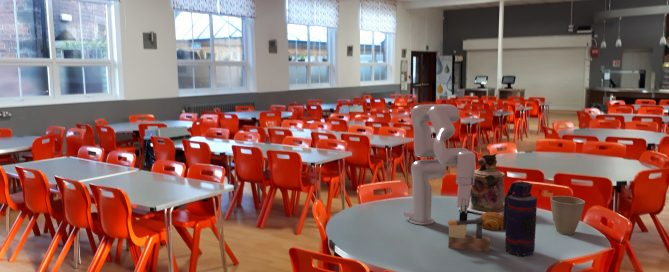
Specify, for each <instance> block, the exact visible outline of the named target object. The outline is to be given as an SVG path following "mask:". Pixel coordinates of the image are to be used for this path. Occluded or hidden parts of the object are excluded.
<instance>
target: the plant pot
mask: <svg viewBox="0 0 669 272" xmlns="http://www.w3.org/2000/svg"><path fill="white" fill-rule="evenodd" d="M585 204H586V201H585V200H583V199H581V198H579V197H573V196H568V195H555V196H551V197H550V207H551V214H552V219H553V223H554V227H555V229H556V232H557V233H558V234H560V235H561V234H562V235H568V236H569V235H573V234H574V233H575V231H576V230H577V228H578V226H579V223H580V222H581V221H580V220H581V217H582V215H583V211H584V207H585Z"/></svg>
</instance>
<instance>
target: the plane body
mask: <svg viewBox="0 0 669 272" xmlns="http://www.w3.org/2000/svg"><path fill="white" fill-rule="evenodd" d="M475 225H476V226H475V227H476V229H475V235H473V234H472V235H471V234H466V237H465V238H455V237H449V236H448V248H449V249H458V250H466V251H467V250H468V251H477V252H478V251H479V252H486V253H489V252H490V245H491V244H490V242H491V241H490V239H491V237H490V236H483V228H482V224H475Z"/></svg>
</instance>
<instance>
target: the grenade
mask: <svg viewBox="0 0 669 272" xmlns="http://www.w3.org/2000/svg"><path fill="white" fill-rule="evenodd" d="M532 187H533V184H531V183H530V182H528V181H523V180H520V181H514V182H511V183H510V185H509V187H508V190H507V192H506V194H505V198H504V214H503V229H504V230H505V233H504V234H505V235H504V236H505V237H504V250H505V251H506V253H512V254H516V255H517V257H523V258H524V257H525V255H530V254H531V255H532V254H534V252H535V246H536V229H537V228H536V225H537V209H538V208H537V206H538V197H536V196H534V195H533V194H532V193H531V191H532Z"/></svg>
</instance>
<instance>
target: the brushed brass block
mask: <svg viewBox="0 0 669 272" xmlns="http://www.w3.org/2000/svg"><path fill="white" fill-rule="evenodd" d="M449 221H457V219H450V220H449ZM467 225H468V224H467ZM467 225H455V226H450V225H448V238H449V237H455V238H465V237H466V235H467V227H468V226H467Z"/></svg>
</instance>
